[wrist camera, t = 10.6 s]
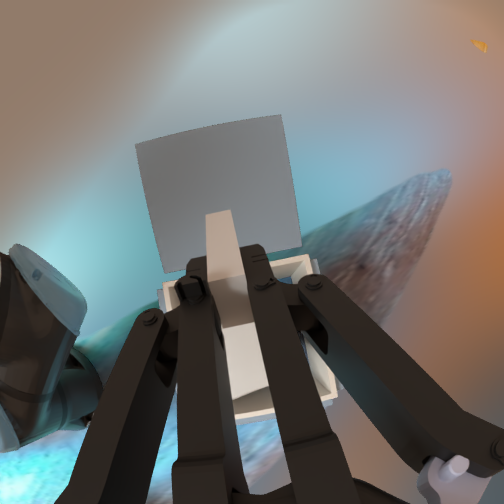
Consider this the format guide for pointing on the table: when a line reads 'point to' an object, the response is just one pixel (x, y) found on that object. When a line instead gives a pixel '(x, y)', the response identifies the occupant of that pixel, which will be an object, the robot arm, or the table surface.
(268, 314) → the robot arm
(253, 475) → the table surface
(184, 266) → the flap
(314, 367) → the carton
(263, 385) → the supplement box
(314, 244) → the table surface
